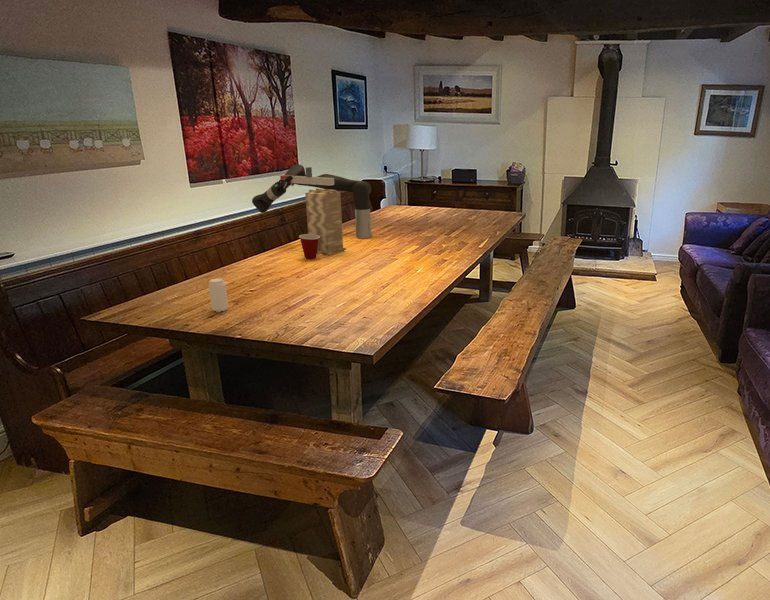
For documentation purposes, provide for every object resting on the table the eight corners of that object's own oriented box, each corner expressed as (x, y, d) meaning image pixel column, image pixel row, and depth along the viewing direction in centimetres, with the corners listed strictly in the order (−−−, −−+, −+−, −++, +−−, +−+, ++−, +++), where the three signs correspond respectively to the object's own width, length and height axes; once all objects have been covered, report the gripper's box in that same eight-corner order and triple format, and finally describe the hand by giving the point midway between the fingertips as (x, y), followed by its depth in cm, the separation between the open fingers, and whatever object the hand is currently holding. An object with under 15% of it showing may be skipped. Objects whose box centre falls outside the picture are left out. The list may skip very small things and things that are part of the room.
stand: (306, 252, 292) (302, 190, 281) (324, 247, 302) (320, 187, 292) (328, 255, 282) (325, 192, 272) (345, 250, 293) (342, 189, 283)
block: (280, 182, 296) (279, 166, 293) (286, 181, 299) (284, 165, 296) (329, 185, 276) (328, 168, 273) (334, 185, 279) (333, 168, 276)
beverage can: (208, 312, 202) (204, 282, 198) (216, 307, 208) (212, 277, 204) (224, 313, 201) (220, 282, 197) (231, 307, 207) (227, 277, 203)
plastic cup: (317, 261, 273) (316, 237, 269) (297, 260, 275) (295, 237, 271) (324, 256, 283) (322, 233, 279) (304, 255, 285) (303, 233, 281)
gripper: (264, 186, 297) (281, 171, 286) (282, 183, 308) (300, 169, 297) (269, 198, 297) (287, 184, 286) (288, 195, 308) (306, 181, 297)
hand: (293, 176), depth 291 cm, fingers closed on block, 4 cm apart
